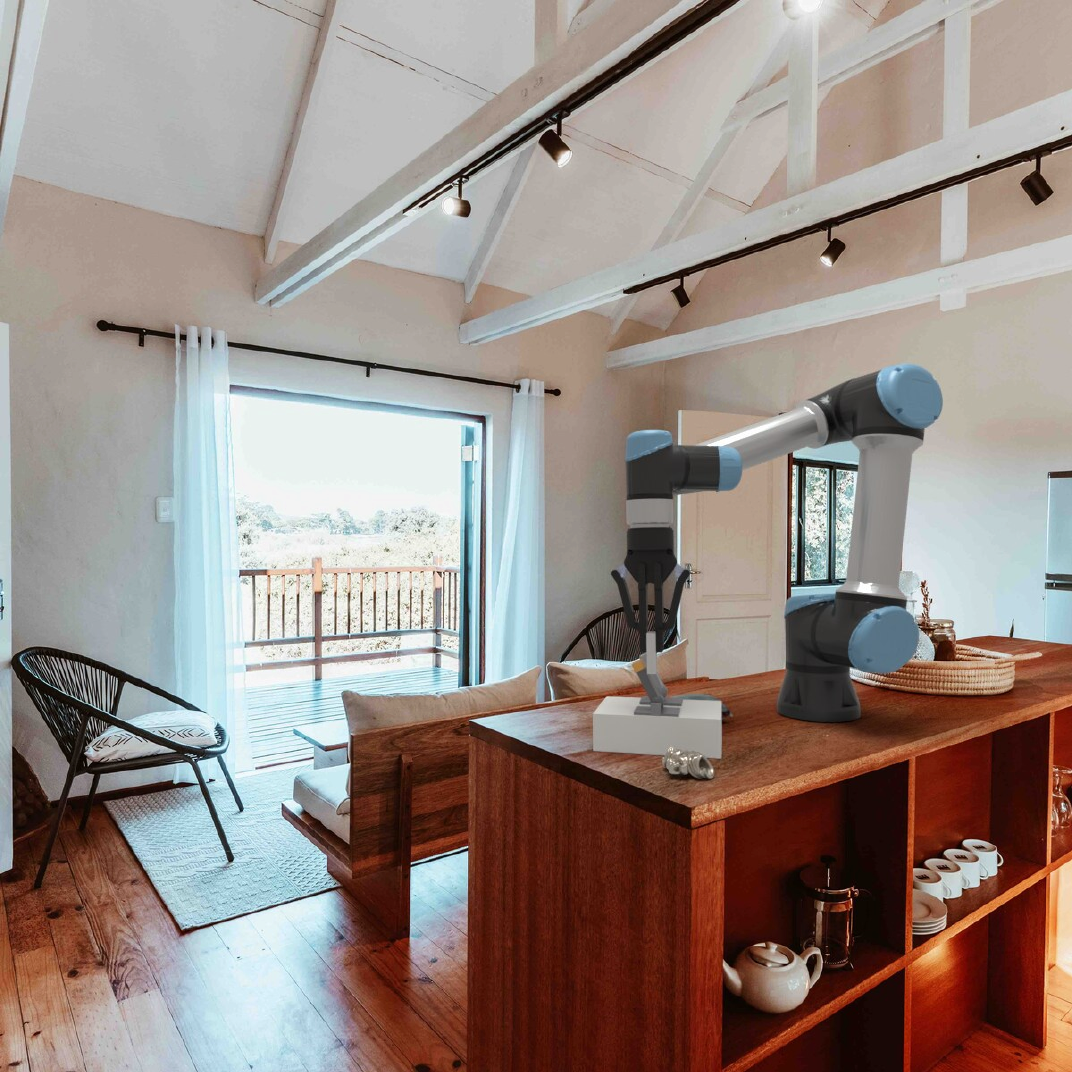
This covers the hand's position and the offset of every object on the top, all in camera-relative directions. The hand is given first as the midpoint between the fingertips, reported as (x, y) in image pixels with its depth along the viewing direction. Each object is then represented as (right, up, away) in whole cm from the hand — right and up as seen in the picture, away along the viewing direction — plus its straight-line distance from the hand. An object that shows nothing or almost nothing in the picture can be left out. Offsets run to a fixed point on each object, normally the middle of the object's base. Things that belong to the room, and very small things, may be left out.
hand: (652, 672), depth 120 cm
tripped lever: (+1, -5, 0) cm, 5 cm away
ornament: (+3, -13, -13) cm, 18 cm away
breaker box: (+2, -13, +4) cm, 13 cm away
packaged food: (+11, -13, +21) cm, 27 cm away
